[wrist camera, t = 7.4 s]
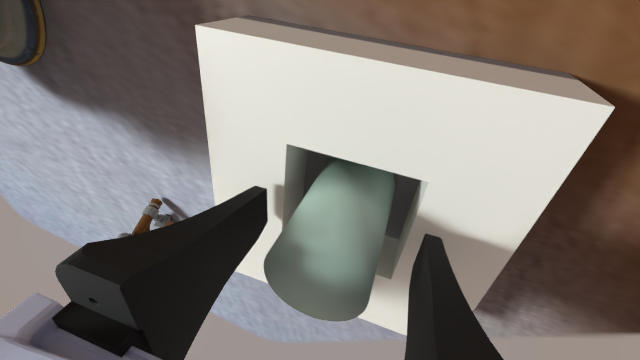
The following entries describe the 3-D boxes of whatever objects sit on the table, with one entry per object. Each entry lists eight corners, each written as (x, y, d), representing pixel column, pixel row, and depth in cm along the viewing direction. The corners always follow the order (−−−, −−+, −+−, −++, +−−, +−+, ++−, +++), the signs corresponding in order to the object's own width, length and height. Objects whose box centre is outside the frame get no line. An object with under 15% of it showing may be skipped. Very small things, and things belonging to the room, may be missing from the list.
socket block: (569, 73, 12) (615, 107, 9) (445, 291, 20) (445, 350, 17) (248, 15, 15) (194, 24, 12) (252, 226, 23) (221, 265, 20)
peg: (403, 158, 15) (379, 263, 9) (387, 220, 17) (360, 334, 12) (325, 141, 16) (261, 228, 10) (320, 202, 18) (265, 300, 13)
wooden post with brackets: (158, 194, 23) (122, 249, 21) (208, 237, 30) (185, 283, 27) (139, 191, 24) (103, 244, 22) (192, 234, 30) (168, 279, 28)
